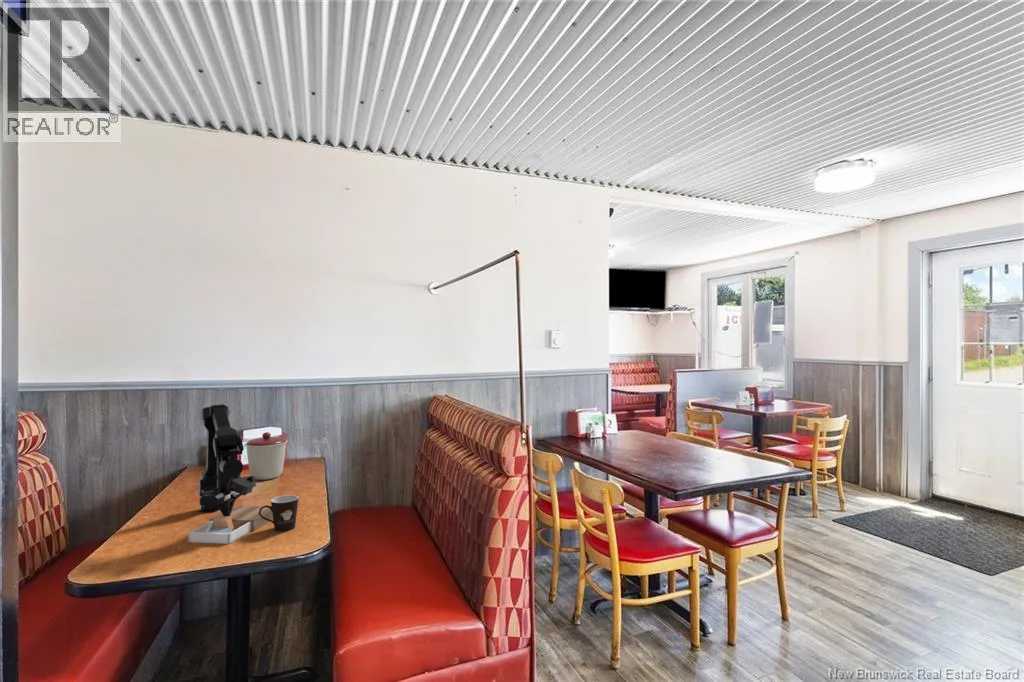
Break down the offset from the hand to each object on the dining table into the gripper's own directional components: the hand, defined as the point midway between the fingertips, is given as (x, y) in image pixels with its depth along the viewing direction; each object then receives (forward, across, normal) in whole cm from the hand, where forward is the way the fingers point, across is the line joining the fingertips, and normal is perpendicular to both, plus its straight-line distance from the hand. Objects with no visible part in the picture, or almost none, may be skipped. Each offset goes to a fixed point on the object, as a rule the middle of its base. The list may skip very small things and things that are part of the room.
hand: (227, 518), depth 168 cm
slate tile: (+2, -4, 0) cm, 5 cm away
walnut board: (+5, +9, 0) cm, 11 cm away
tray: (+5, -3, 0) cm, 6 cm away
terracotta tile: (+1, 0, +1) cm, 1 cm away
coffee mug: (+5, +5, -15) cm, 17 cm away
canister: (+5, +66, +28) cm, 72 cm away
